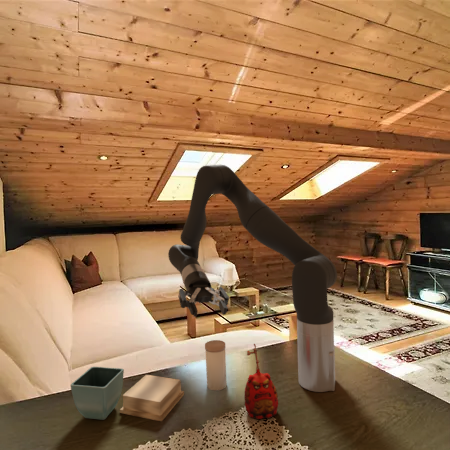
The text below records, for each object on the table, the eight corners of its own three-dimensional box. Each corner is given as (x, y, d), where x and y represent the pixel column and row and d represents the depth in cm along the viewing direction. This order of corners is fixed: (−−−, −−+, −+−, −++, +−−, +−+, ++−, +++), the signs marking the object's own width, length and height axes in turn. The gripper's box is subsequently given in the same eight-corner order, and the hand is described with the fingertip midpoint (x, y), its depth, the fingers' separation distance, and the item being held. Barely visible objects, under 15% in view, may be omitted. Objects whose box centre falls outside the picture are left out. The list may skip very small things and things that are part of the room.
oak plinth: (184, 394, 86) (183, 379, 86) (161, 421, 75) (160, 404, 75) (146, 387, 90) (145, 373, 89) (119, 412, 79) (118, 396, 79)
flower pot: (107, 427, 74) (104, 387, 74) (71, 423, 76) (69, 384, 75) (126, 403, 83) (124, 368, 82) (94, 401, 84) (92, 366, 84)
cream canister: (229, 381, 91) (228, 341, 91) (222, 392, 86) (221, 349, 86) (211, 378, 93) (209, 339, 92) (203, 388, 88) (201, 347, 87)
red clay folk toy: (249, 424, 73) (246, 356, 72) (241, 405, 80) (238, 343, 79) (282, 418, 75) (280, 352, 74) (271, 400, 82) (269, 340, 81)
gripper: (175, 270, 103) (187, 303, 89) (218, 269, 108) (237, 300, 95) (171, 291, 106) (183, 326, 92) (214, 289, 111) (231, 322, 97)
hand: (210, 313), depth 93 cm, fingers open, 8 cm apart
